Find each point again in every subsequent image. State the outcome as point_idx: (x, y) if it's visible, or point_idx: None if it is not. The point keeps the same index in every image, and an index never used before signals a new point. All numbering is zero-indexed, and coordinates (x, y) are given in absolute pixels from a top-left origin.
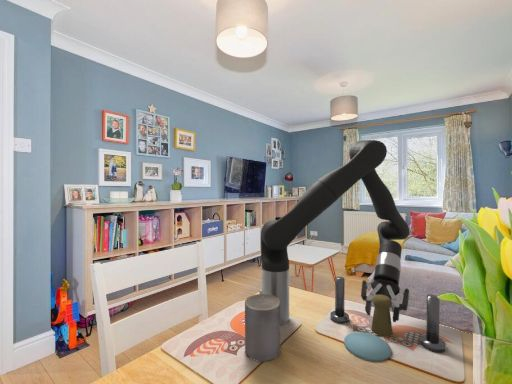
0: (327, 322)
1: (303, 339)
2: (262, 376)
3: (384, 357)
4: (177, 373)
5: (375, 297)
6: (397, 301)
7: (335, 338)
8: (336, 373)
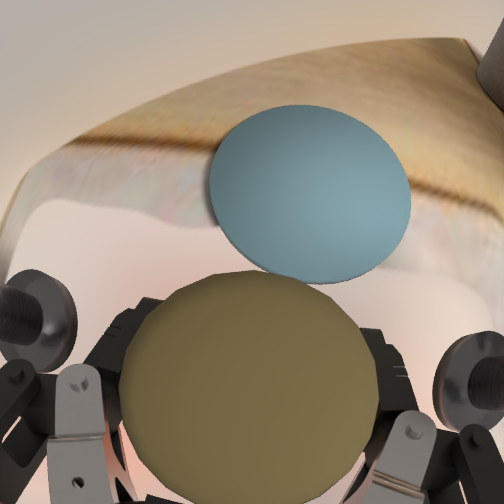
0: (501, 314)
1: (494, 155)
2: (452, 41)
3: (238, 126)
4: None
5: (354, 346)
6: (56, 418)
7: (436, 196)
8: (356, 55)
